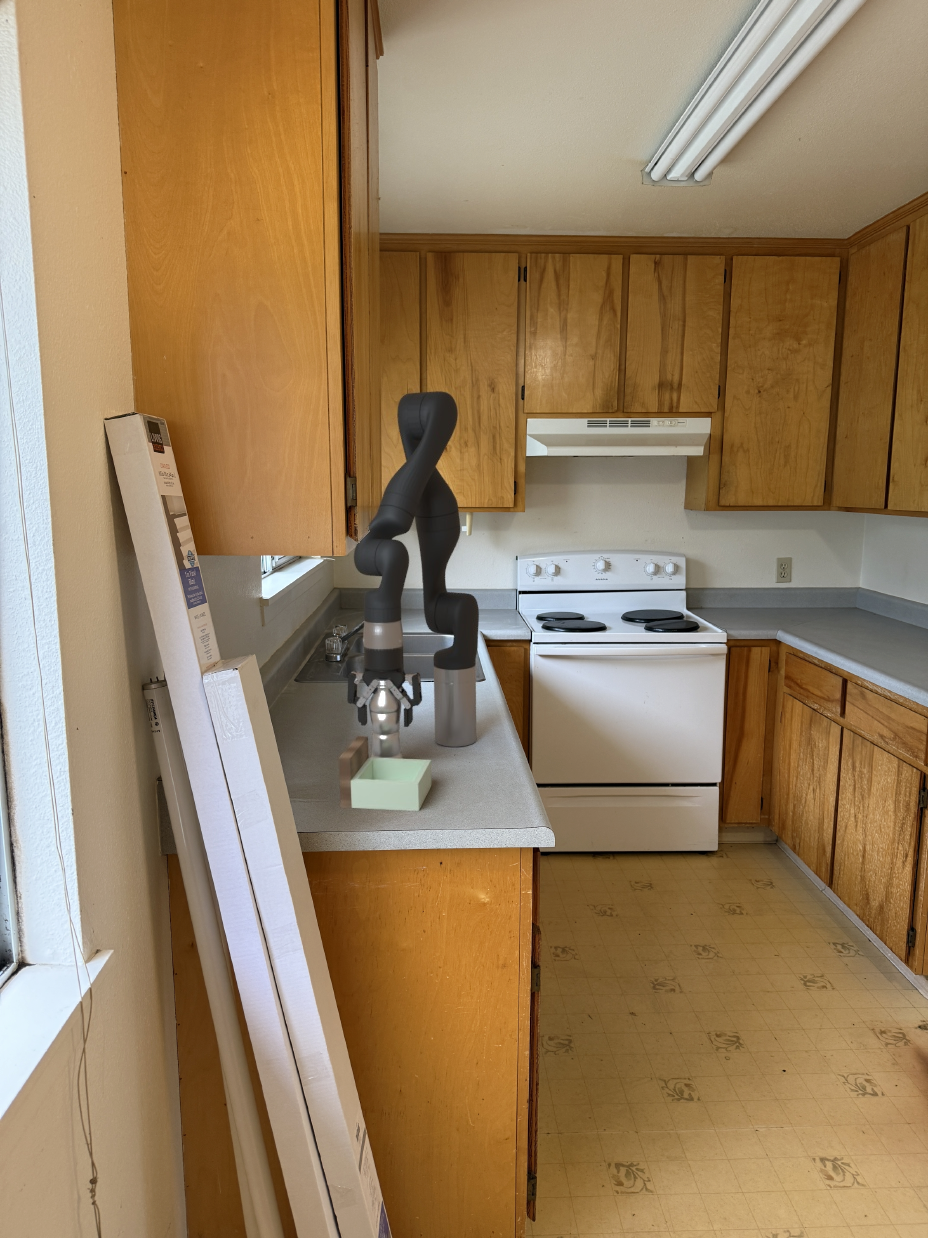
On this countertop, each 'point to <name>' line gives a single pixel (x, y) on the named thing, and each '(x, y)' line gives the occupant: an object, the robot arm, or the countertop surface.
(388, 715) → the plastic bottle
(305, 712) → the countertop surface
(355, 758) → the backstop
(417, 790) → the socket block
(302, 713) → the countertop surface
